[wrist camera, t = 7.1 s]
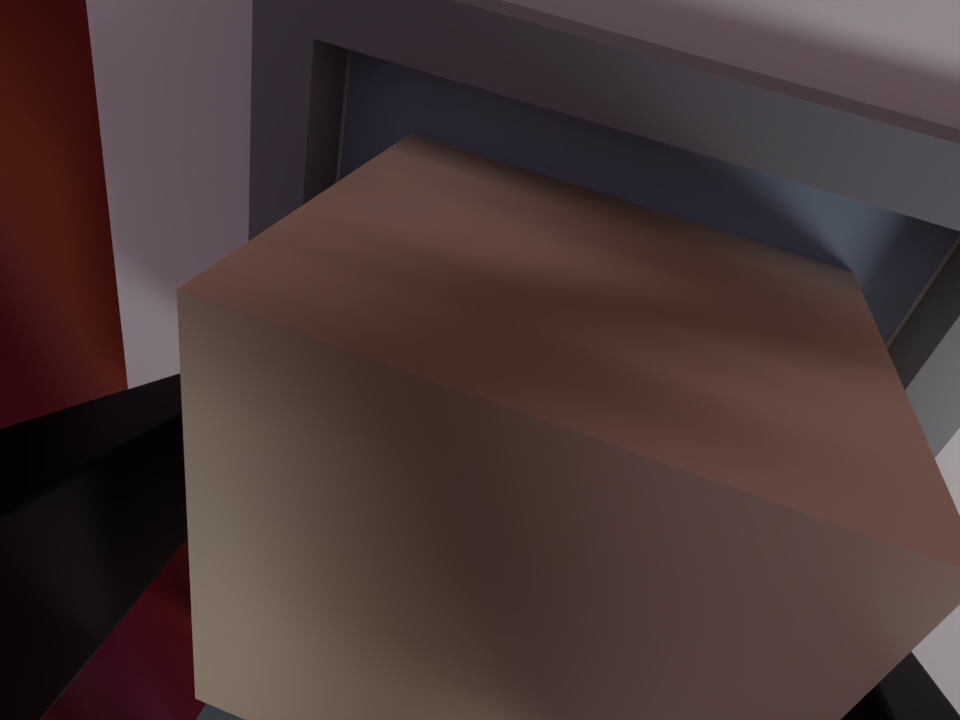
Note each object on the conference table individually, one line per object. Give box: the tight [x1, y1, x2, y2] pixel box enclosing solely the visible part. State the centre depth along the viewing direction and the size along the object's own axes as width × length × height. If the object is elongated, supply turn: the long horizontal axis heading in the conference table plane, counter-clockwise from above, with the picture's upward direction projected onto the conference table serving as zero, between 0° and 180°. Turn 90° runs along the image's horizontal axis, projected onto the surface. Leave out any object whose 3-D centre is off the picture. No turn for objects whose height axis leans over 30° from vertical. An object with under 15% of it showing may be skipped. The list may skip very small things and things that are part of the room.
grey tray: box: [86, 0, 960, 715], centre depth 11 cm, size 20×12×3 cm, turn 78°
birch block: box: [176, 133, 960, 720], centre depth 9 cm, size 6×6×5 cm
